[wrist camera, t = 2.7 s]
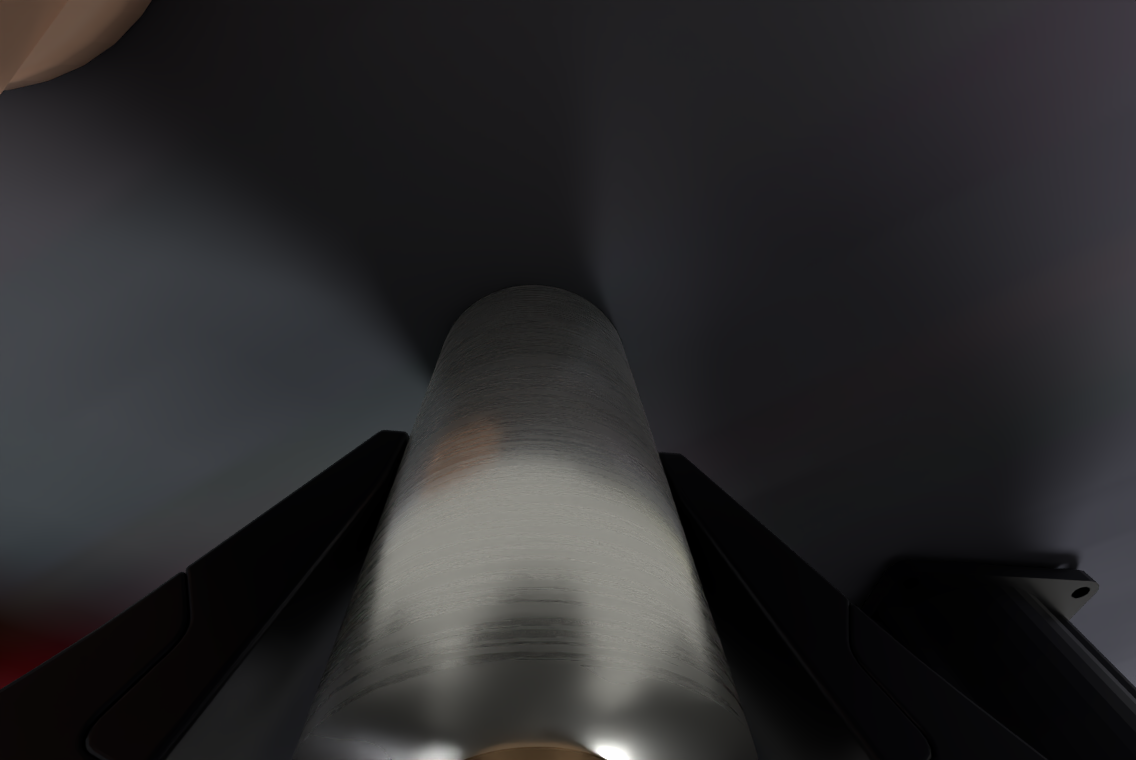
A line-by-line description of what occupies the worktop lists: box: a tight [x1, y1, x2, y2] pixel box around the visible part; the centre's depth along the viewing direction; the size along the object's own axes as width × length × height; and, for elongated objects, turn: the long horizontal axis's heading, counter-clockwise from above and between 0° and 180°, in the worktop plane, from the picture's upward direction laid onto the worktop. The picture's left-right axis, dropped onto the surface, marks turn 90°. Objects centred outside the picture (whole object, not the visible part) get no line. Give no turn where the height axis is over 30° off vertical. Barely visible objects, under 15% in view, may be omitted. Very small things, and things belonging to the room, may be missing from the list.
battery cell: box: [292, 285, 758, 760], centre depth 7 cm, size 4×4×8 cm
